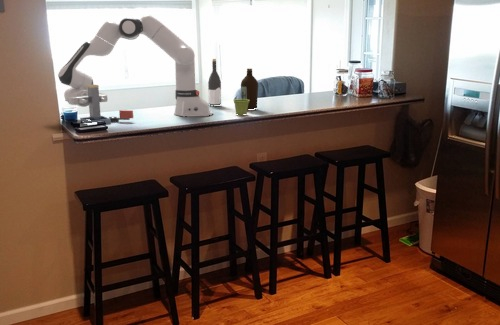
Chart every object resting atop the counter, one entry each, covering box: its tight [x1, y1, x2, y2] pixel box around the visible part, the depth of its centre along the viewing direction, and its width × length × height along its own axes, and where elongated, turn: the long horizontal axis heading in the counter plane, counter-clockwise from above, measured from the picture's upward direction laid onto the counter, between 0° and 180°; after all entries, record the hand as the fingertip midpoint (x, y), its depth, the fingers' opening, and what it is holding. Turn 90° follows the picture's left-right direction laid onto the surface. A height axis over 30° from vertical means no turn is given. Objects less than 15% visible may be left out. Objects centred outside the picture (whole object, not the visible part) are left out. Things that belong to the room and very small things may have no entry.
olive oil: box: [240, 68, 259, 109], centre depth 300 cm, size 11×11×25 cm
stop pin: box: [87, 84, 102, 120], centre depth 254 cm, size 4×4×19 cm
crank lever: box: [108, 109, 134, 121], centre depth 260 cm, size 13×4×5 cm, turn 86°
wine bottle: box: [207, 58, 222, 105], centre depth 316 cm, size 8×8×30 cm
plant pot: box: [233, 98, 250, 116], centre depth 282 cm, size 9×9×9 cm
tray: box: [80, 115, 112, 125], centre depth 256 cm, size 12×12×2 cm
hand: (94, 100), depth 253 cm, fingers open, 8 cm apart
